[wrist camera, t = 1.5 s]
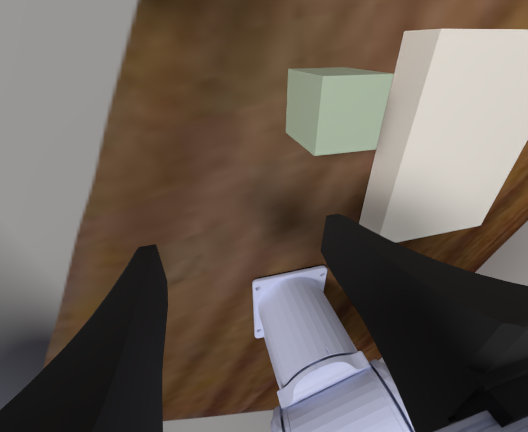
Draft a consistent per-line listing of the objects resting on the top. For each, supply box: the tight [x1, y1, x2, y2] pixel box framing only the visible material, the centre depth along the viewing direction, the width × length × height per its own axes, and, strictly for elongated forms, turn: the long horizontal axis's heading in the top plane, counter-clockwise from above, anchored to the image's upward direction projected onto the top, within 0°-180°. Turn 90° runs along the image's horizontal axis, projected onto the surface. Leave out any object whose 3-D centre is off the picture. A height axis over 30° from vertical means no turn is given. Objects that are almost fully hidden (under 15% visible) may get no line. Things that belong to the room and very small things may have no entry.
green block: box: [286, 67, 394, 156], centre depth 16 cm, size 4×4×5 cm
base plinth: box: [359, 29, 528, 243], centre depth 22 cm, size 16×12×3 cm
